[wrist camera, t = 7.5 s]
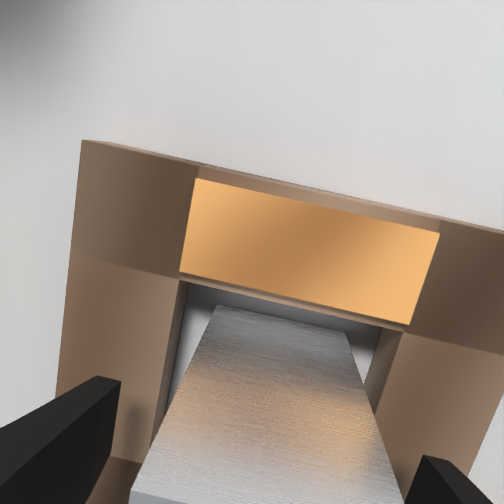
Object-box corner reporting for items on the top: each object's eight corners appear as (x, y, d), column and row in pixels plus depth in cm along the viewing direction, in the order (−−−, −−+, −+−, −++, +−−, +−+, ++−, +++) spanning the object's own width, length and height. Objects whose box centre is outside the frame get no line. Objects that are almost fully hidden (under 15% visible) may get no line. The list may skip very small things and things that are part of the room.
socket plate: (859, 311, 11) (966, 339, 9) (653, 628, 13) (704, 693, 12) (108, 141, 11) (77, 138, 9) (67, 480, 14) (38, 523, 12)
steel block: (345, 332, 12) (424, 560, 5) (314, 441, 13) (346, 753, 6) (217, 304, 12) (130, 490, 5) (196, 413, 13) (100, 690, 6)
